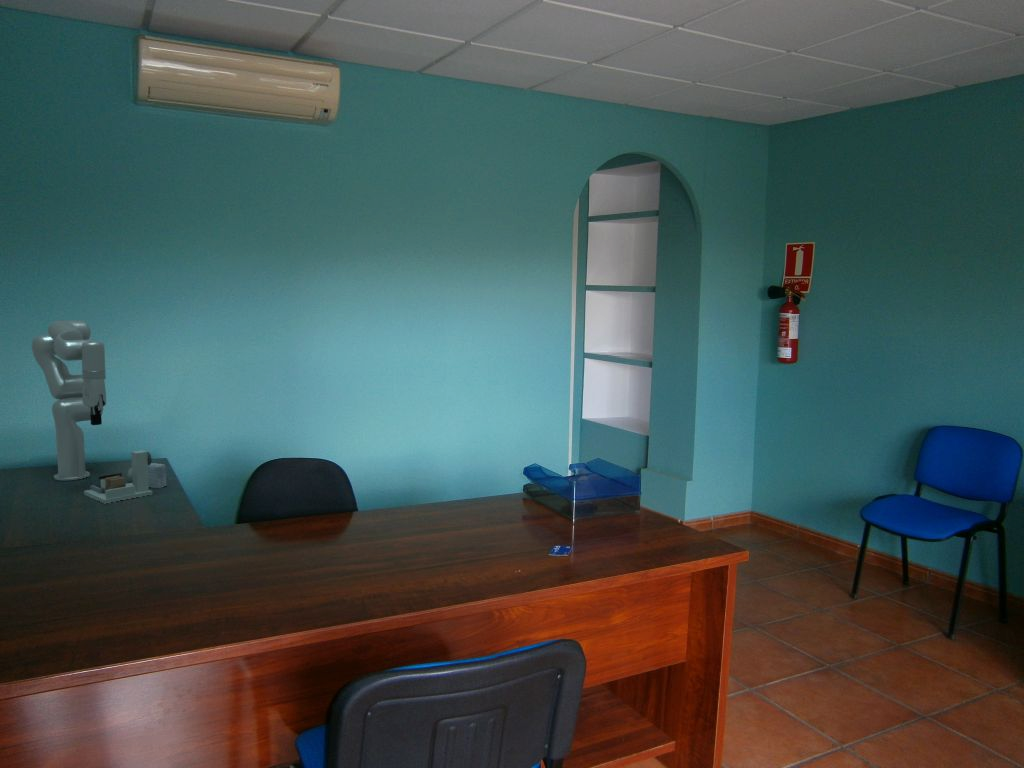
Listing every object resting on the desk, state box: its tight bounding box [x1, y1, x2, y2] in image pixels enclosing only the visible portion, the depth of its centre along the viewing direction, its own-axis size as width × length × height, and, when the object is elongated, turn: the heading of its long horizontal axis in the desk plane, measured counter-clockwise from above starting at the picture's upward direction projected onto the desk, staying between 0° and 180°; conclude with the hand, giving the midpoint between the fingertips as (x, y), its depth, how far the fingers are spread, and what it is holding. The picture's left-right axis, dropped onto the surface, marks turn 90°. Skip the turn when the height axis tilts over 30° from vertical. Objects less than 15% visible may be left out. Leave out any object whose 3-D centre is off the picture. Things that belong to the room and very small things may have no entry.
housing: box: [105, 476, 127, 490], centre depth 286 cm, size 5×5×6 cm
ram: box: [97, 471, 123, 493], centre depth 289 cm, size 4×8×6 cm, turn 139°
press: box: [83, 449, 154, 505], centre depth 290 cm, size 18×18×16 cm
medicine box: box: [148, 462, 167, 489], centre depth 303 cm, size 8×4×9 cm, turn 71°
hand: (96, 424), depth 293 cm, fingers closed
